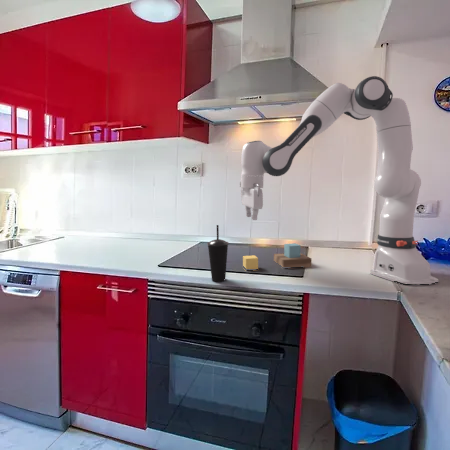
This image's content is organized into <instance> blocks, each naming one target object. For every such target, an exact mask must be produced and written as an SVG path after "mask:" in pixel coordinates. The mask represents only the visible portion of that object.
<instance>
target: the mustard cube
mask: <svg viewBox="0 0 450 450" xmlns="http://www.w3.org/2000/svg"><path fill="white" fill-rule="evenodd" d="M243 266H244V267H245V268H246V269H258V270H259V257H257V256H256V255H253V254H252V255H243V256H242V267H243Z"/></svg>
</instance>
